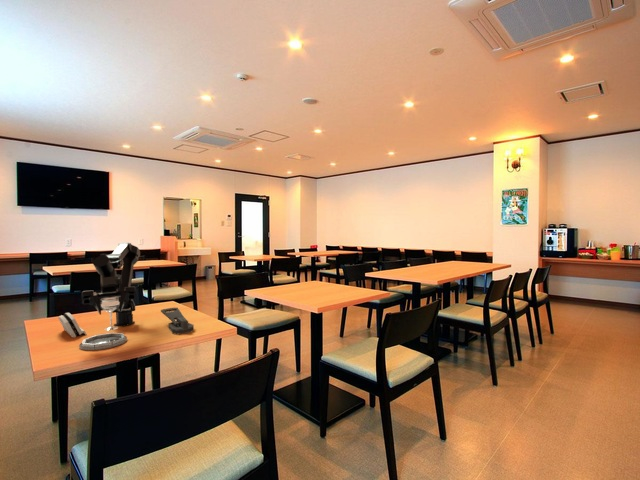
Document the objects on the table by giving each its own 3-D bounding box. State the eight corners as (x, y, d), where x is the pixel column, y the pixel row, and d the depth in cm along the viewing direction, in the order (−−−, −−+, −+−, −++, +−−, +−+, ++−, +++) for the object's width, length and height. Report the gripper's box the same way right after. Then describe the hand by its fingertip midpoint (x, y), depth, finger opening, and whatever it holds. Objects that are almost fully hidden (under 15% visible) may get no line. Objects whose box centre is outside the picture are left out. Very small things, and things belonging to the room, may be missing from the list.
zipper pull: (178, 306, 170) (195, 316, 151) (178, 320, 171) (196, 331, 151) (158, 309, 165) (174, 320, 145) (159, 323, 165) (174, 335, 146)
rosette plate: (68, 348, 130) (68, 343, 130) (104, 335, 146) (104, 331, 146) (103, 352, 126) (103, 346, 126) (136, 338, 142) (136, 333, 142)
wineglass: (102, 327, 139) (101, 297, 138) (122, 325, 141) (121, 296, 141) (99, 332, 132) (98, 301, 132) (119, 329, 135) (118, 299, 134)
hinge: (87, 334, 148) (76, 314, 145) (74, 341, 145) (63, 320, 142) (77, 327, 159) (68, 308, 157) (66, 333, 156) (56, 313, 153)
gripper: (80, 270, 134) (80, 304, 125) (134, 267, 144) (138, 298, 135) (82, 287, 141) (82, 320, 132) (133, 283, 151) (137, 313, 142)
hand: (110, 312), depth 135 cm, fingers closed on wineglass, 6 cm apart
